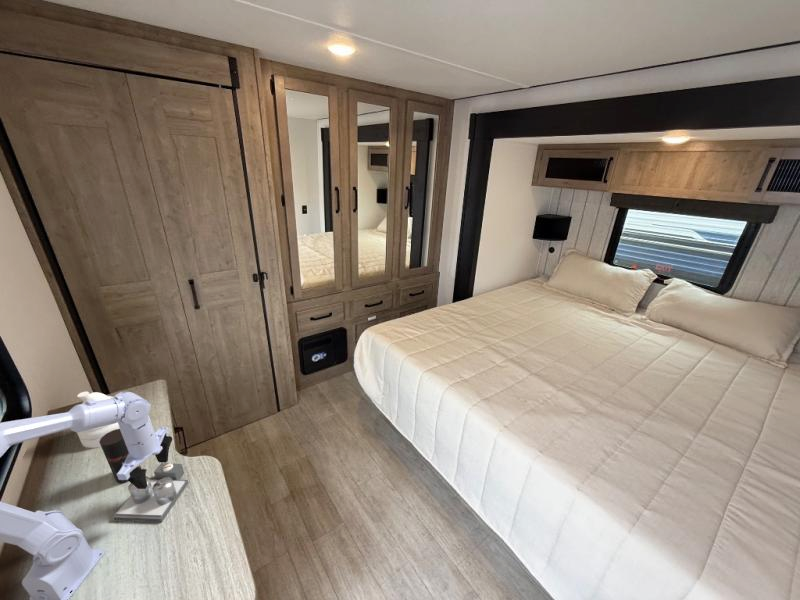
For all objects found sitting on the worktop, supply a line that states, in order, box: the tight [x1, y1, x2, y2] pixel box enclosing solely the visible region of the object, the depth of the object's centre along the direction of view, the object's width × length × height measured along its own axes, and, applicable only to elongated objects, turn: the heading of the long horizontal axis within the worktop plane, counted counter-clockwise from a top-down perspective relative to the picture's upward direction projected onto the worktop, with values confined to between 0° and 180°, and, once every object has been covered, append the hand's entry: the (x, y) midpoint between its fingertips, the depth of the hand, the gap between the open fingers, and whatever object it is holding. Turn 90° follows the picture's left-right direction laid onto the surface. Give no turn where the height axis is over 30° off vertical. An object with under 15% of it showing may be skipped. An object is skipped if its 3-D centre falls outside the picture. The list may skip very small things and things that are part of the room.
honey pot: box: [76, 391, 120, 449], centre depth 102 cm, size 13×13×18 cm
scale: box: [112, 462, 189, 523], centre depth 86 cm, size 14×12×4 cm
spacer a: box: [127, 475, 153, 504], centre depth 84 cm, size 4×4×5 cm
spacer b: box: [152, 477, 177, 505], centre depth 84 cm, size 4×4×5 cm
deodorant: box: [99, 429, 142, 484], centre depth 89 cm, size 6×6×15 cm
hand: (153, 474), depth 82 cm, fingers open, 7 cm apart
